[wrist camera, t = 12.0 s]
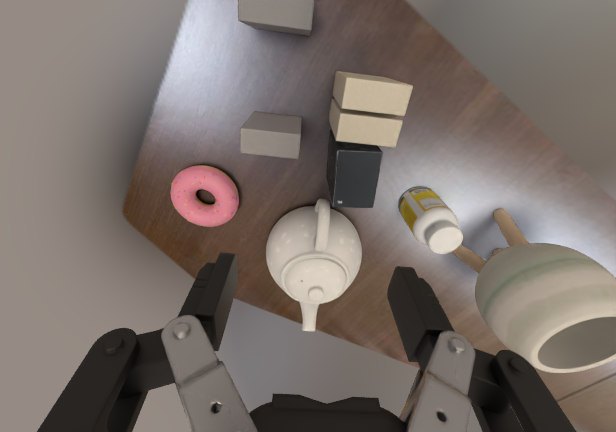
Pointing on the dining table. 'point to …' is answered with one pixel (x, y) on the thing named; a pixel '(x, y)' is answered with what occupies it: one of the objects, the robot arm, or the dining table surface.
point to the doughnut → (209, 181)
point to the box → (352, 173)
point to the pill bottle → (430, 220)
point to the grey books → (266, 126)
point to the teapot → (313, 256)
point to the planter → (546, 301)
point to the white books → (368, 108)
